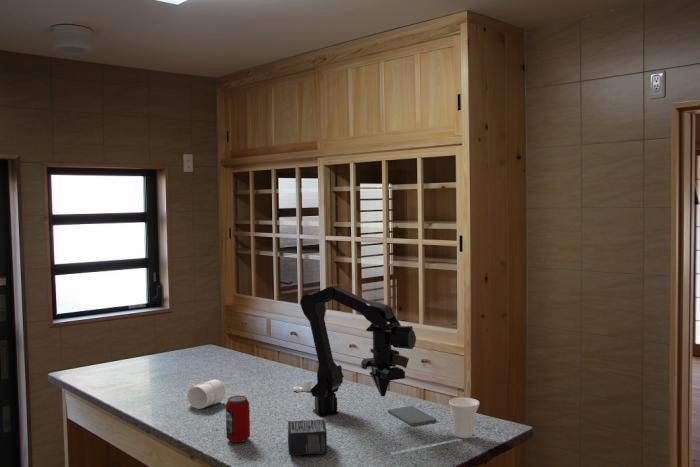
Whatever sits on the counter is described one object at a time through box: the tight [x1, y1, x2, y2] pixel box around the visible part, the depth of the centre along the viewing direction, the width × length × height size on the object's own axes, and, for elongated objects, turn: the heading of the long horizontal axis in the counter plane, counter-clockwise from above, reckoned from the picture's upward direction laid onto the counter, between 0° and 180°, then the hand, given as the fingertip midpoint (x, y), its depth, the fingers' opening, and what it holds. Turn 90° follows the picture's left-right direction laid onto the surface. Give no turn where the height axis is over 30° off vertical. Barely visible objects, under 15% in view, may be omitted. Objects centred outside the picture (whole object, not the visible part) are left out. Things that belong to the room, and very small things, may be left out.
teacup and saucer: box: [292, 379, 316, 395], centre depth 235 cm, size 9×8×4 cm
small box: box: [287, 419, 328, 456], centre depth 178 cm, size 11×6×10 cm
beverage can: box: [225, 395, 251, 443], centre depth 187 cm, size 7×7×12 cm
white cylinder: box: [187, 379, 226, 410], centre depth 220 cm, size 12×9×8 cm
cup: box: [448, 397, 481, 439], centre depth 187 cm, size 9×9×10 cm
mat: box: [387, 405, 437, 427], centre depth 204 cm, size 9×15×1 cm, turn 25°
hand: (382, 396), depth 200 cm, fingers closed
